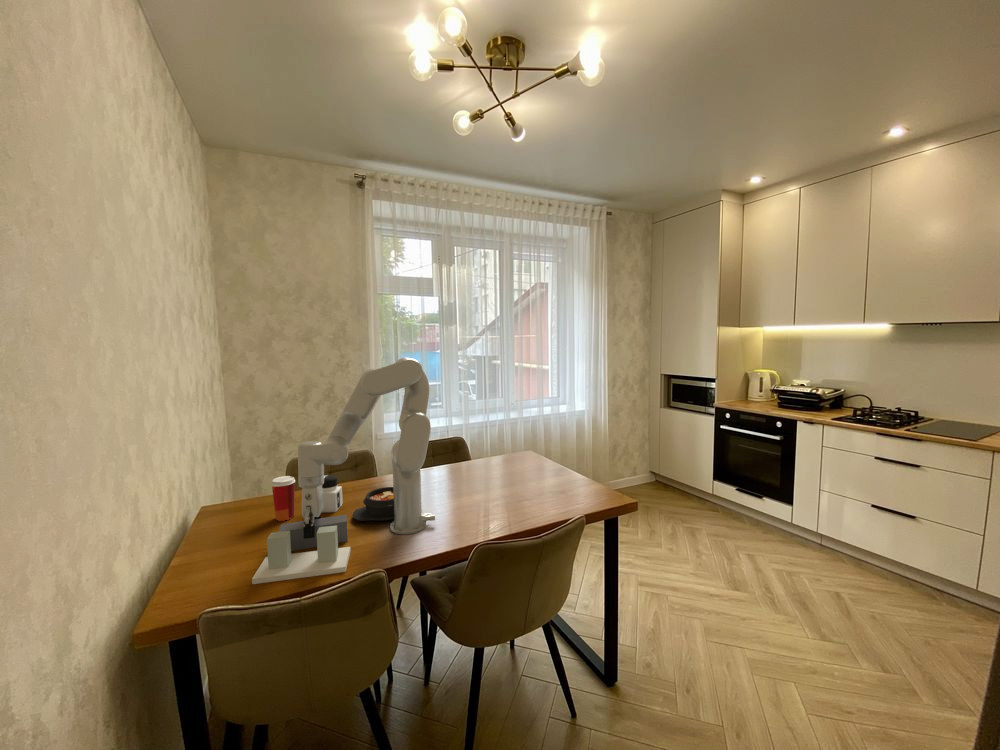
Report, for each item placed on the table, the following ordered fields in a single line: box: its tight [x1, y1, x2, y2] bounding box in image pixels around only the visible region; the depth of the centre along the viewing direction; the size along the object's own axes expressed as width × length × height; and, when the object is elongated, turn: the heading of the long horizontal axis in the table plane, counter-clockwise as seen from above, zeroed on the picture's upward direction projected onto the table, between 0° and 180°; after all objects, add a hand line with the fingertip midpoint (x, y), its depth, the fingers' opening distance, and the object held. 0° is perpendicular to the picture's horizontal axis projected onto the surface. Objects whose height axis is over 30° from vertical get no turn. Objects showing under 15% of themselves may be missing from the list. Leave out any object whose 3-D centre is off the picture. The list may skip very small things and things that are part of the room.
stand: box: [251, 526, 352, 585], centre depth 120 cm, size 24×12×10 cm, turn 104°
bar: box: [278, 514, 349, 552], centre depth 135 cm, size 20×6×7 cm, turn 111°
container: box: [321, 474, 344, 513], centre depth 163 cm, size 8×8×13 cm
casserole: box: [352, 486, 394, 522], centre depth 156 cm, size 25×19×8 cm
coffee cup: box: [270, 475, 296, 522], centre depth 154 cm, size 8×8×15 cm
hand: (312, 531), depth 134 cm, fingers open, 9 cm apart
